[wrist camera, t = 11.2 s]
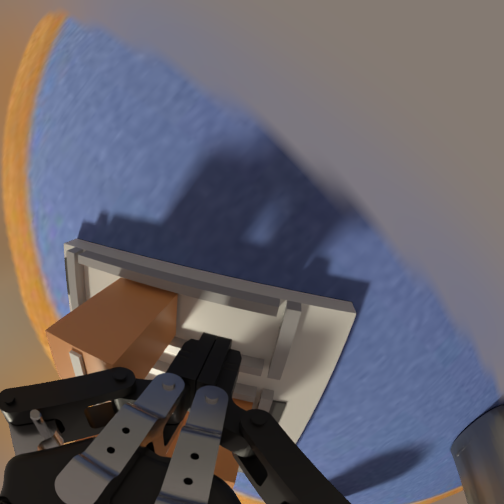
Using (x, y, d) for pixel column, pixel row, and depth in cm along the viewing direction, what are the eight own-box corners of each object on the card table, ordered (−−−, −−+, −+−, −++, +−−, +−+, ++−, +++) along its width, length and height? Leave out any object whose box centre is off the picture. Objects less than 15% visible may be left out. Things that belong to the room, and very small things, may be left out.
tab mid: (253, 399, 17) (234, 485, 10) (246, 422, 18) (228, 500, 11) (198, 385, 17) (161, 464, 11) (196, 409, 18) (164, 482, 11)
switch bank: (351, 302, 16) (359, 322, 14) (280, 459, 22) (278, 478, 19) (76, 238, 18) (54, 246, 15) (102, 403, 23) (91, 417, 21)
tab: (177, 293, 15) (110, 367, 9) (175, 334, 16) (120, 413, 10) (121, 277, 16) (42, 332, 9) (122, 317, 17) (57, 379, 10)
